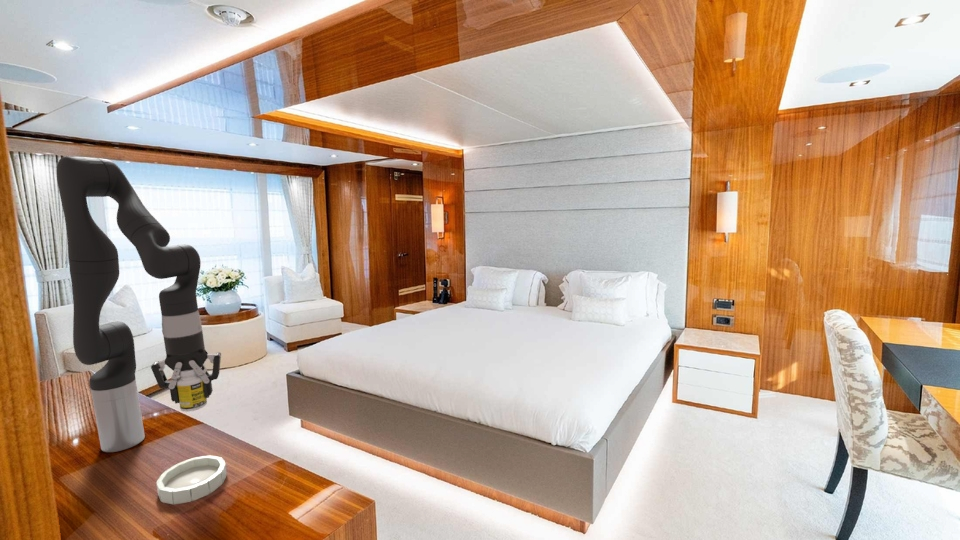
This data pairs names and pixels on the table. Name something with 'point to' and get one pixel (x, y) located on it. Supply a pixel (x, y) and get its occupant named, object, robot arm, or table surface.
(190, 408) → the supplement bottle
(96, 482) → the table surface
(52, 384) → the table surface
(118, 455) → the table surface
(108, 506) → the table surface
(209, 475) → the sage bowl
